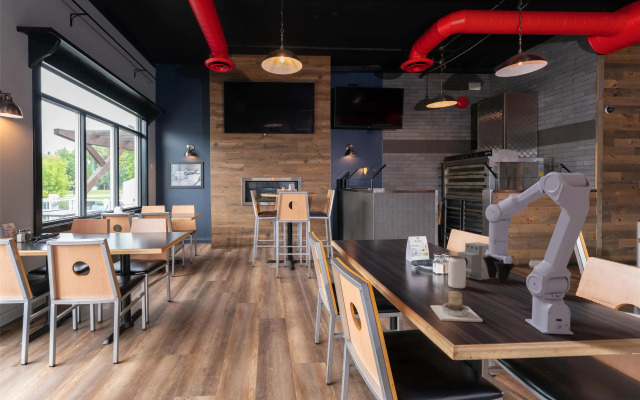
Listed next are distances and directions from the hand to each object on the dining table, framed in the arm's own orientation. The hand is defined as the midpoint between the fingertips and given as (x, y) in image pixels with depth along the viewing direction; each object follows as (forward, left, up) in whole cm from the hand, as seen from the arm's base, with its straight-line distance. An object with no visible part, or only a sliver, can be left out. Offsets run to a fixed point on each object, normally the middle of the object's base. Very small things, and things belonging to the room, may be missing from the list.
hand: (497, 280), depth 117 cm
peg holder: (-10, +17, -8) cm, 21 cm away
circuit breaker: (+37, -6, -9) cm, 38 cm away
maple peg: (-10, +17, -8) cm, 21 cm away
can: (+22, +6, -9) cm, 24 cm away
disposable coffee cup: (+16, -24, -9) cm, 30 cm away
